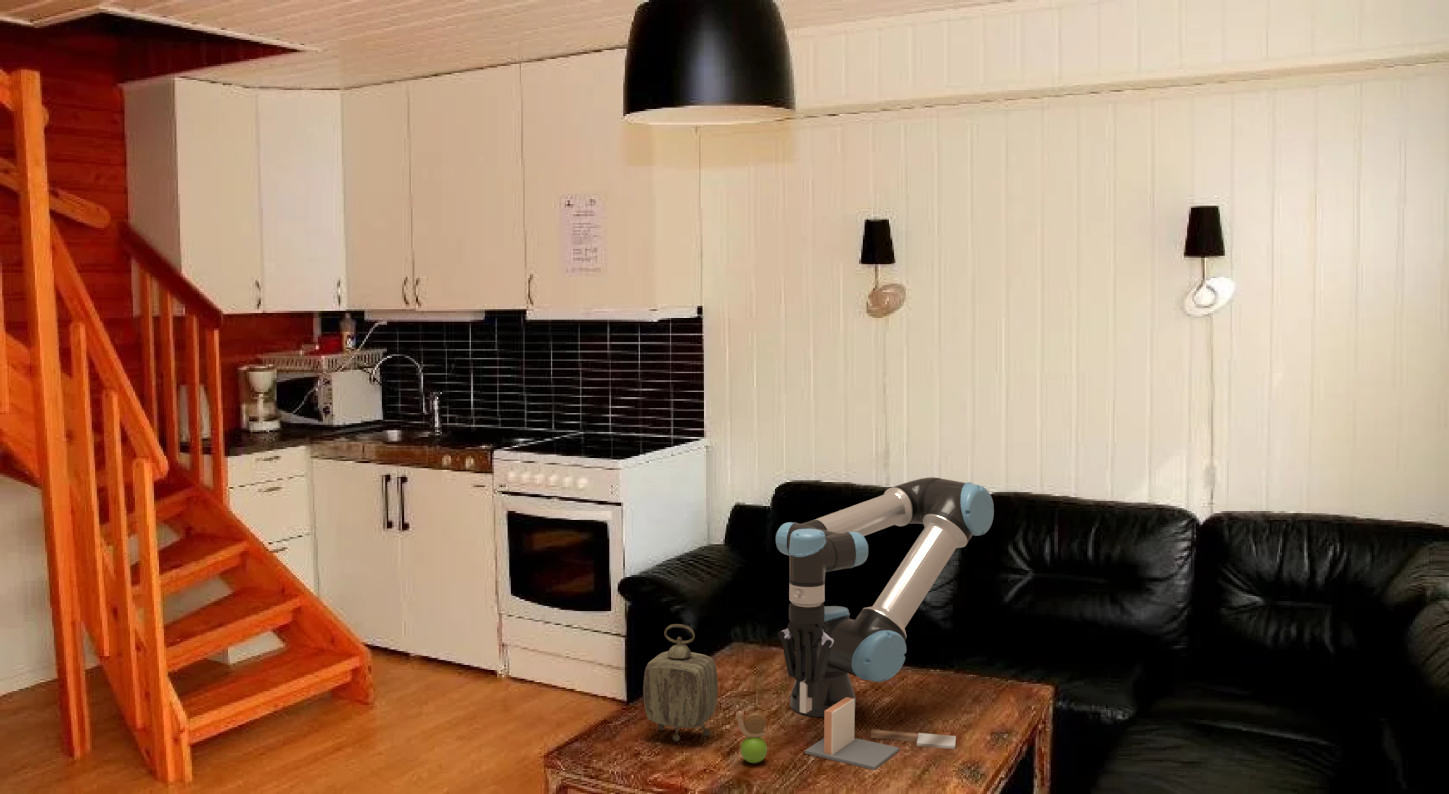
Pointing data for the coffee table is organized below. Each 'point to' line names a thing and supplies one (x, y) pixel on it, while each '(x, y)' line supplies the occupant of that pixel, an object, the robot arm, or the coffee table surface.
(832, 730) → the tile
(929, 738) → the turner
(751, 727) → the snail figurine
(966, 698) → the coffee table surface
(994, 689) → the coffee table surface
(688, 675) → the tabletop clock
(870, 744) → the mat
